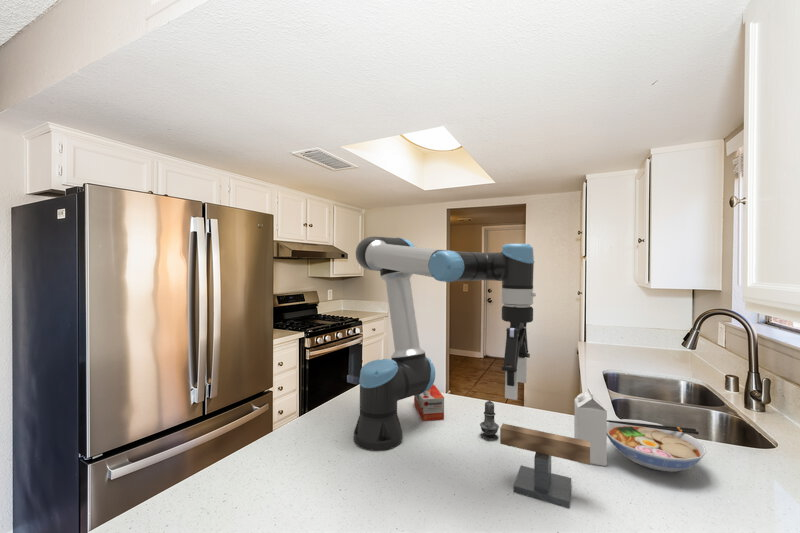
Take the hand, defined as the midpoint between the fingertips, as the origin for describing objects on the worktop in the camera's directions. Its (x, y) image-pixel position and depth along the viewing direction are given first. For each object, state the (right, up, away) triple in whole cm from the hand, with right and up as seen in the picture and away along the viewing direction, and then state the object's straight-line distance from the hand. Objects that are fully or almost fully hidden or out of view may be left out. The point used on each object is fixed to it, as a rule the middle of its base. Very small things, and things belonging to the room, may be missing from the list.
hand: (516, 389), depth 90 cm
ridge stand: (+5, -23, -3) cm, 24 cm away
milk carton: (+24, -23, +11) cm, 35 cm away
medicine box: (-19, -23, +42) cm, 51 cm away
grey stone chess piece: (-1, -23, +23) cm, 32 cm away
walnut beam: (+6, -14, -3) cm, 15 cm away
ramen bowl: (+40, -23, +8) cm, 47 cm away
